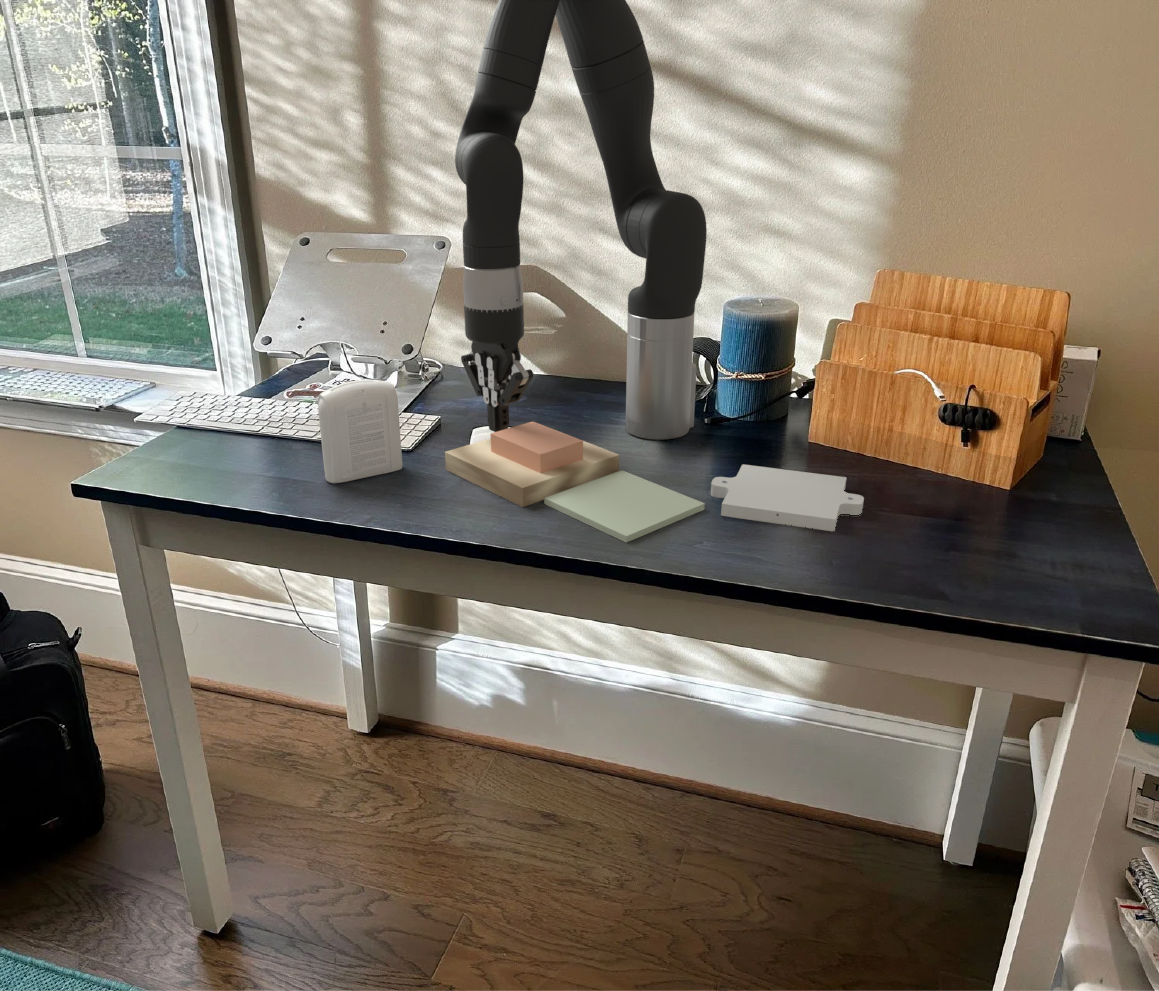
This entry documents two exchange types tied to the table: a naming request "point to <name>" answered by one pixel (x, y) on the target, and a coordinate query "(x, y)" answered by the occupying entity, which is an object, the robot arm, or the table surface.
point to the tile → (537, 446)
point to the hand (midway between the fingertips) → (498, 430)
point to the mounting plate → (786, 497)
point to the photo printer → (359, 430)
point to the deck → (527, 472)
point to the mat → (624, 505)
